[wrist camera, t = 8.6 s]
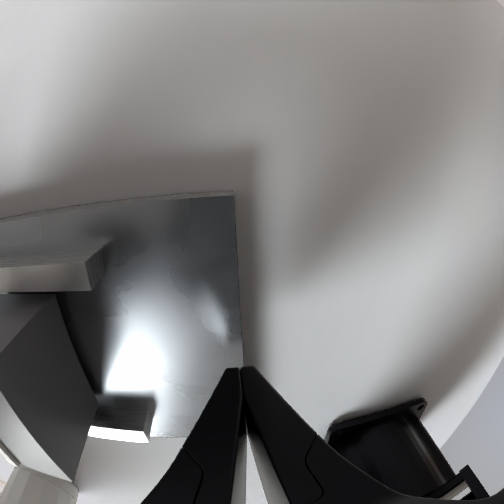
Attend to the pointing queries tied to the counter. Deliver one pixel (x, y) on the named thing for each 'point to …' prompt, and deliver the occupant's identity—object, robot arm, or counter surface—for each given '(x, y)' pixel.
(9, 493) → the cup
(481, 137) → the counter surface
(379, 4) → the counter surface
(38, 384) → the plunger
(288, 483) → the robot arm
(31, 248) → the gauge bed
